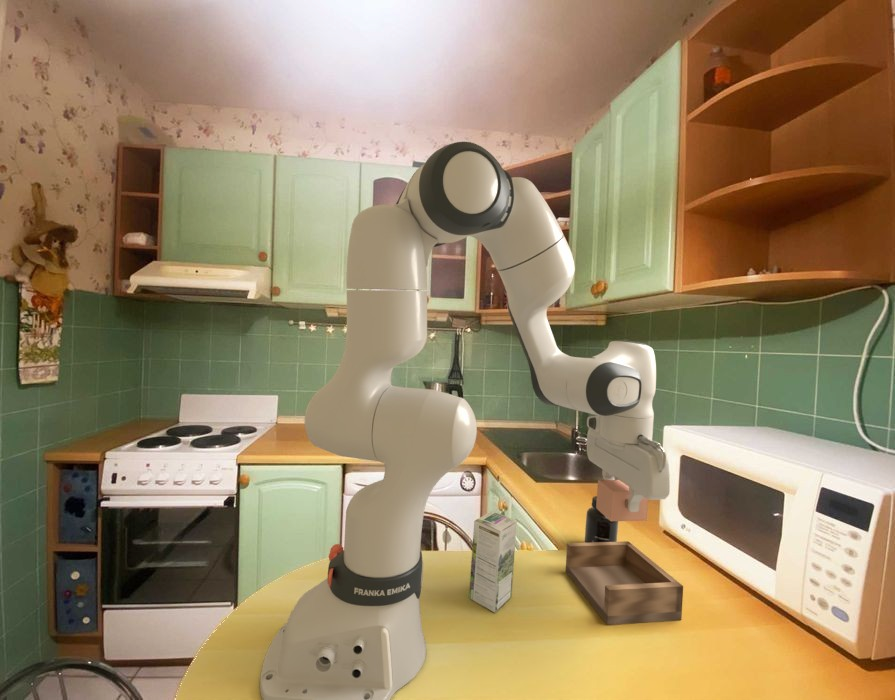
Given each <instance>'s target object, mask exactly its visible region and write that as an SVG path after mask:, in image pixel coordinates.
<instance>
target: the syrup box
mask: <svg viewBox="0 0 895 700" xmlns="http://www.w3.org/2000/svg"><path fill="white" fill-rule="evenodd" d="M472 536H473V537H472V549H471V562H470V563H471V564H470V575H469V576H470V577H469V591H468V597H469V599H470V600H471V601H473V602H475V603H477V604H478V605H480V606H482V607H484V608H486V609H488V610H489V611H491V612H493V613H497V612H498V611H499V610H500V609H501V608H503V606H504V605H505V604H506V603H507V602H509V600H510V599H511V598H512V595H513V594H512V592H513V582H514V581H513V580H514V564H515V553H516V551H515V550H516V536H517V521H516V520H514V519H512V518H511V517H509V516H507V515H504V514H501V513H499V512H496V511H489V512H488V513H486V514H484V515H483V516H480V517H479V518H477V519H475V520H474V522H473V534H472Z"/></svg>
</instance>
